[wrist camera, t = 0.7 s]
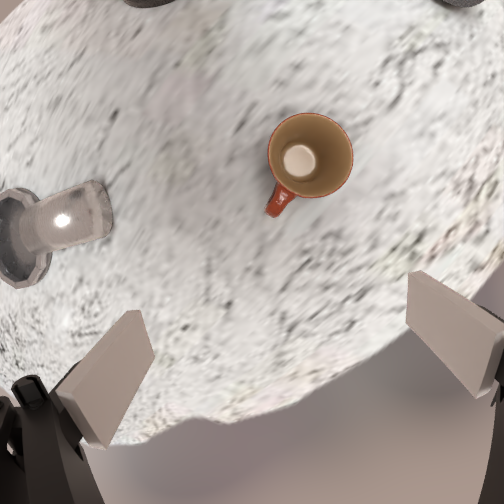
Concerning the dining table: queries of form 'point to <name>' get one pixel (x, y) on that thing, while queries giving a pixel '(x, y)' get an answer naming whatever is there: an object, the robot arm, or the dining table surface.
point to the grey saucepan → (48, 228)
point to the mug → (307, 159)
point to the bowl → (464, 2)
